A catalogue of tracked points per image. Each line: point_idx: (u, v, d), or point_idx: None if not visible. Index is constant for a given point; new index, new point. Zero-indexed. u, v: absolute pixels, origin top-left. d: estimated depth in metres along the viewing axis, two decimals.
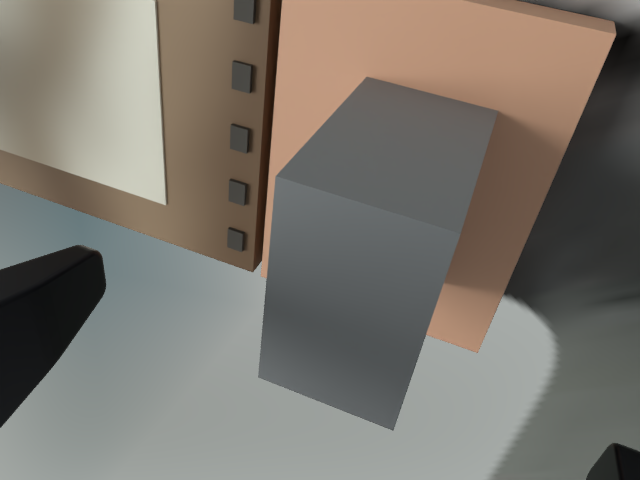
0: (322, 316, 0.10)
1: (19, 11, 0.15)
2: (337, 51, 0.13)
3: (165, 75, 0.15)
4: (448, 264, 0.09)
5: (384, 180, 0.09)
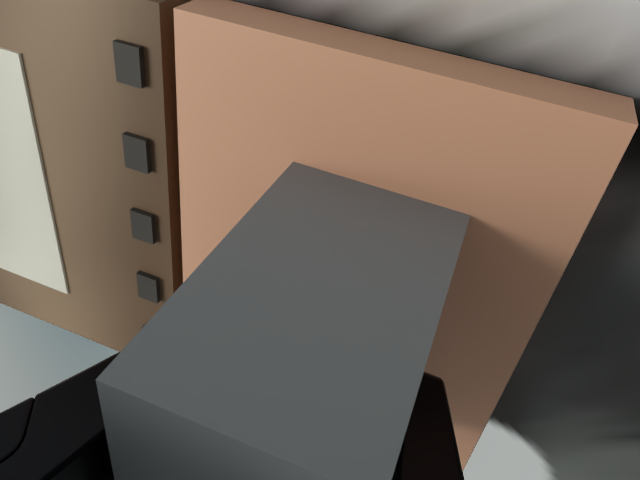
0: None
1: None
2: (252, 127, 0.09)
3: (46, 145, 0.11)
4: None
5: (276, 376, 0.06)
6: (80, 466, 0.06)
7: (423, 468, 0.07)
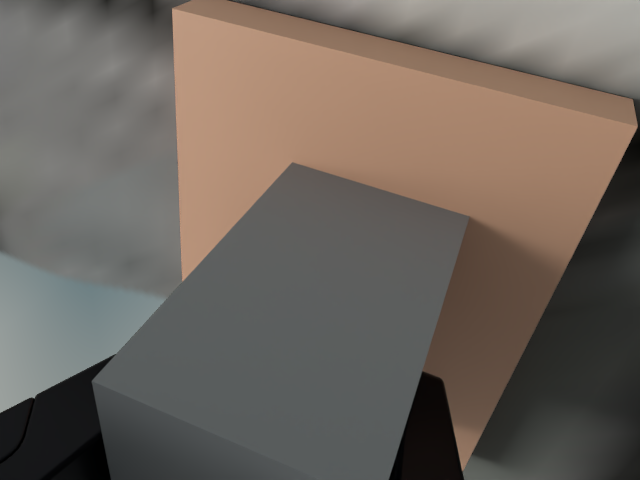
0: None
1: None
2: (251, 128, 0.09)
3: None
4: None
5: (273, 378, 0.06)
6: (80, 466, 0.06)
7: (423, 468, 0.07)
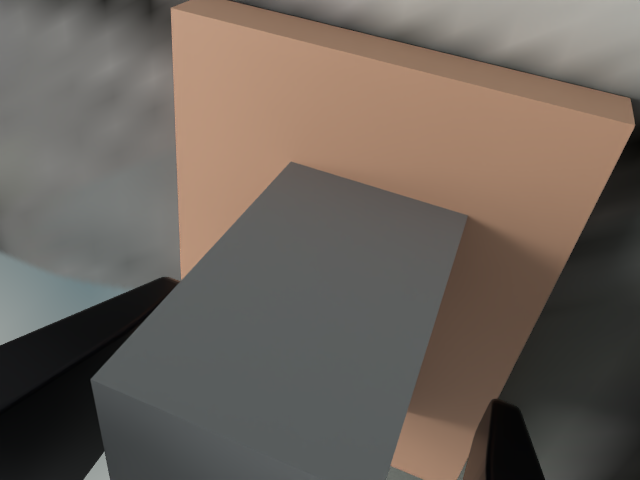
0: None
1: None
2: (250, 127, 0.09)
3: None
4: None
5: (271, 376, 0.06)
6: None
7: None
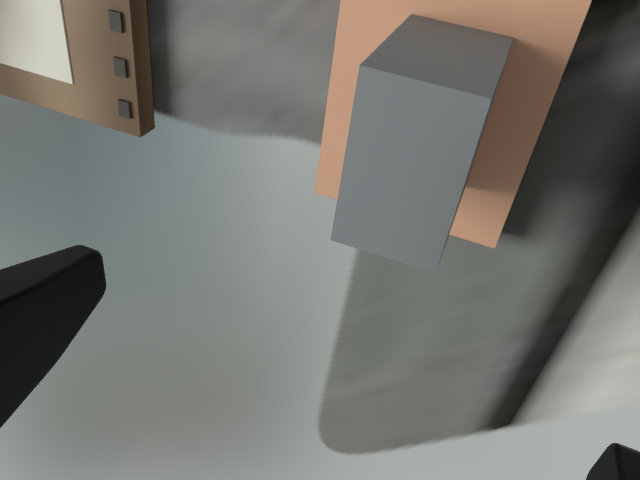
0: (386, 178, 0.14)
1: None
2: None
3: None
4: (482, 124, 0.12)
5: (435, 70, 0.13)
6: None
7: None
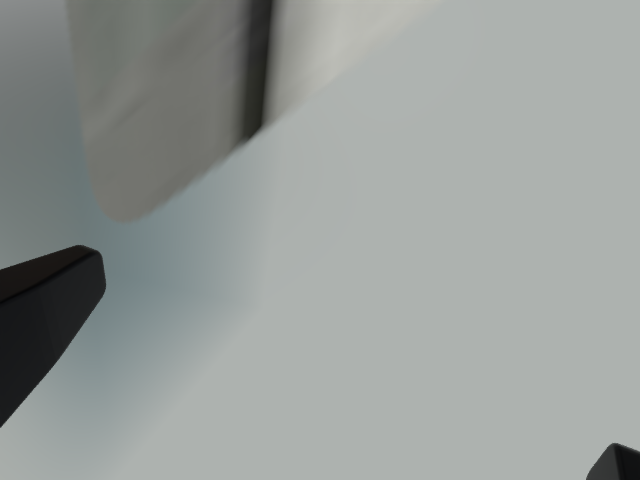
0: None
1: None
2: None
3: None
4: None
5: None
6: None
7: None
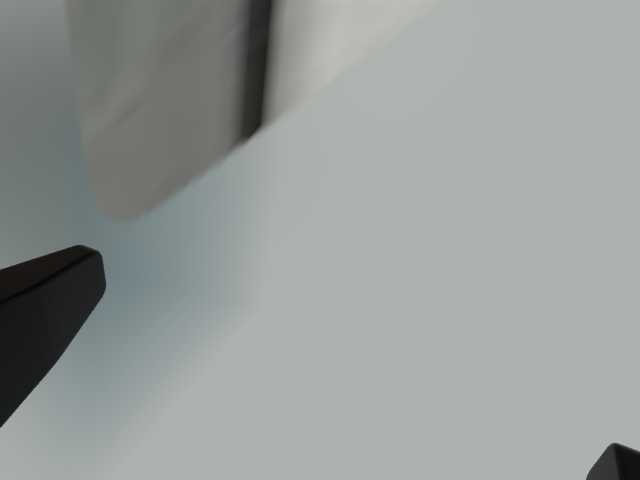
0: None
1: None
2: None
3: None
4: None
5: None
6: None
7: None
